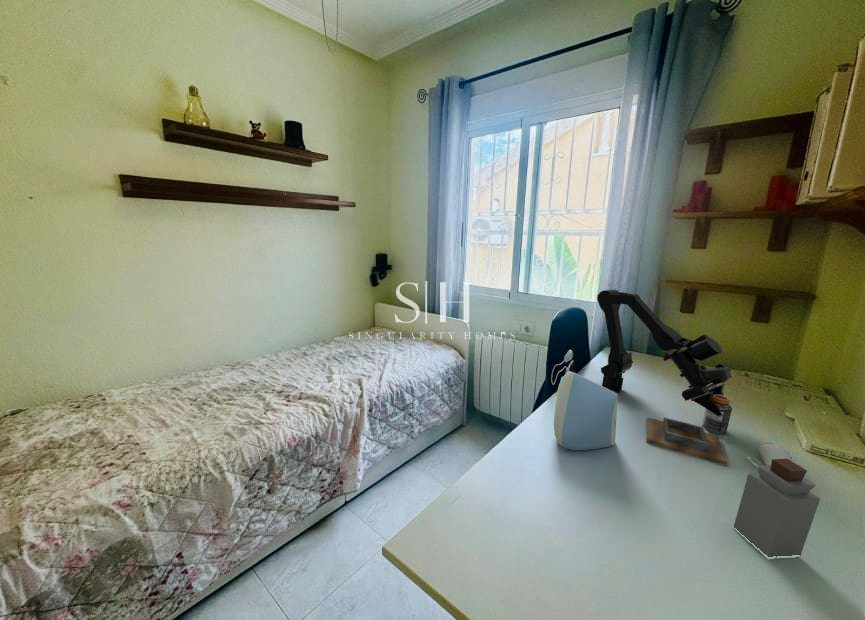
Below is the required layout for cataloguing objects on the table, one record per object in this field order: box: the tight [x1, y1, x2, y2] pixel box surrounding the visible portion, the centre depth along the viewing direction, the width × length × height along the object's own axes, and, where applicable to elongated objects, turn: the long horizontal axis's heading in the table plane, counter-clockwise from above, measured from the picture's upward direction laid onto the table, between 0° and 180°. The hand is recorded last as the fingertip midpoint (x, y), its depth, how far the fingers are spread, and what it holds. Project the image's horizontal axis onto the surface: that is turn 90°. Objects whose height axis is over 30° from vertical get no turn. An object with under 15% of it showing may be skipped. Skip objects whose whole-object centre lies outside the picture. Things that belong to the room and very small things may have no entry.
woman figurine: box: [744, 442, 808, 480], centre depth 86 cm, size 12×4×18 cm
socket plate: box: [645, 416, 728, 467], centre depth 97 cm, size 18×14×4 cm
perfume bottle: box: [733, 459, 821, 557], centre depth 63 cm, size 7×7×18 cm
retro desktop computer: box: [550, 349, 619, 451], centre depth 96 cm, size 25×23×17 cm
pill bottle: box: [701, 394, 733, 435], centre depth 102 cm, size 6×6×11 cm
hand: (723, 412), depth 101 cm, fingers closed on pill bottle, 6 cm apart
